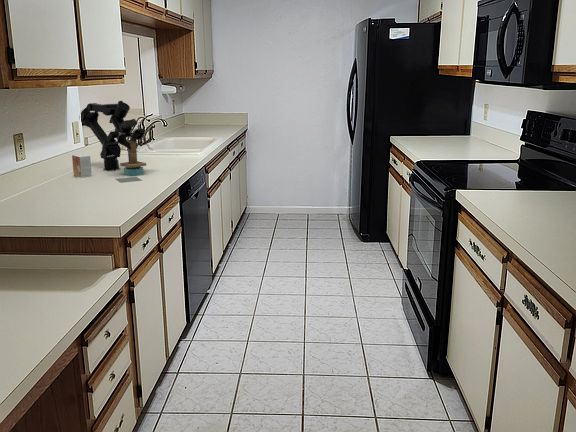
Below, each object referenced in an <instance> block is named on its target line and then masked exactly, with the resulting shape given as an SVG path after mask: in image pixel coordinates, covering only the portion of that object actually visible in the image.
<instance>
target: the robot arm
mask: <svg viewBox="0 0 576 432" xmlns="http://www.w3.org/2000/svg"><path fill="white" fill-rule="evenodd" d="M130 109H131V108H130V105H129V104H128V103H126V102H124V101H123V100H118V102H117V103H104V104H103V103H102V104H101V103H97V102H93V103H92V102H91V103H88V104H87V105H86V107H85V108H83V109H82V110H81V111H80V114H81V121H80V122H81V123H82V125H84V126H85V127H87V128H89V129H90V130H91V131H92V133H93V134H94V136H95V137H96V138H97V140H98V141H99V142H100V144H101V145H102V146H101V152H100V153H99V155H100V159H103V165H104V167H103V171H117V170H118V169H120V163H119V159H118V158H120V157H121V153H122V152H121V151H122V148H121V146H123V147H124V148H127V150H128V149H130V150H131V146H130V144H129V143H128V139H127V138H129V141H135V142H136V150H138V144H137V141H138V140H141V139H143V136H144V135H145V133H146V132H145V129H144V128H135V129H134V131H133V128H134V127H136V126H137V125H138V122H137V119H135V118H131V119H127V120H126V119H125V118H126V117H127V115H128V113H129V111H130ZM99 113H102V115H104V116H106V117H108V116H110V117H109V124H113V126H114V131H110V132H109V133H108V134H107V133H106V131H105V130H104V129H103V128H102V126H101V125H100V124H99V122H98V120H99V116H100V114H99ZM120 145H121V146H120Z"/></svg>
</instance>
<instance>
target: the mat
mask: <svg viewBox="0 0 576 432" xmlns="http://www.w3.org/2000/svg"><path fill="white" fill-rule="evenodd" d="M115 180H116V181H117V182H119V183H120V184H121V183H122V184H123V183H133V182H141V181H143V179H141V178H139V177H138V176H128V177H120V178H115Z"/></svg>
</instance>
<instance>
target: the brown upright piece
mask: <svg viewBox="0 0 576 432" xmlns="http://www.w3.org/2000/svg"><path fill="white" fill-rule="evenodd" d="M127 141H128V140H127ZM136 142H137V141H136ZM136 142H135V141H130V140H129V141H128V143H129V144H130V146H131V150H130V149H128V148H127V158H128V161H126V162H120V163H119V167H124V168H125V167H128V168H134V167H145V166H147V163H146V162H142V161H138V154H137V153H138V151H137V150H138V149H136Z"/></svg>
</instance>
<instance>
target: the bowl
mask: <svg viewBox="0 0 576 432" xmlns="http://www.w3.org/2000/svg"><path fill="white" fill-rule="evenodd" d="M144 171H145V169H144V166H140V167H134V168H128V167H124V168H123V176H128V177H138V176H142V175H144Z"/></svg>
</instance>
